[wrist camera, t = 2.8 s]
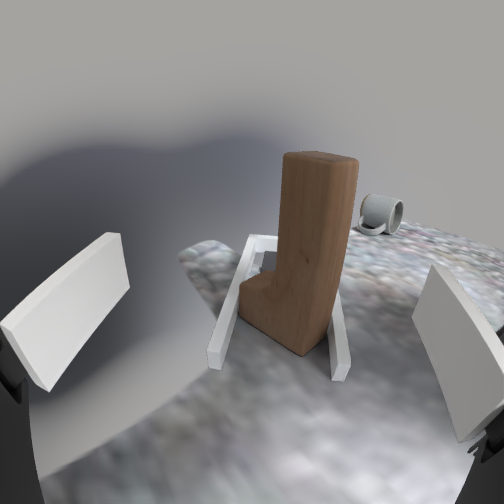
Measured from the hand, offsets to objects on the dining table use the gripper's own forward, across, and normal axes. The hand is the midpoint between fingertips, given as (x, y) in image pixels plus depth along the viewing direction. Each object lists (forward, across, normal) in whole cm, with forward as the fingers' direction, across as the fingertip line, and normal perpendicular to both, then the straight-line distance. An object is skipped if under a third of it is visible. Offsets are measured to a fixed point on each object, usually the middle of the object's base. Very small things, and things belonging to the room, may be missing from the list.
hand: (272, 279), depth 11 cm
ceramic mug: (+46, +21, -14) cm, 52 cm away
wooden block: (+14, +1, -14) cm, 20 cm away
